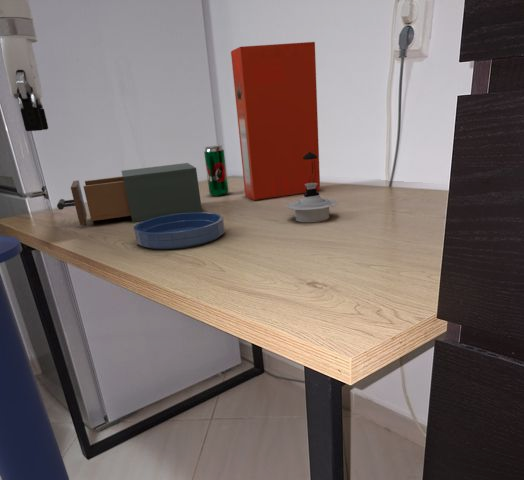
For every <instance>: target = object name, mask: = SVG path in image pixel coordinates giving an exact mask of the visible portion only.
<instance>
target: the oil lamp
mask: <svg viewBox="0 0 524 480" xmlns="http://www.w3.org/2000/svg"><path fill="white" fill-rule="evenodd" d="M316 158H317V156H316V155H315V154H313V153H311V152H310V151H309V153H307V154H306V155H305V156H304V157H303V159H305V160H307V159H316ZM314 165H315V160H314ZM312 174H313V162H312ZM311 177H312V176H311ZM311 177H310V178H311ZM315 177H316V172H315ZM314 179H315V178H314ZM314 179H313V180H314ZM309 182H310V179H309ZM317 184H318V183H307V184H305V186H306V187H307V189H306V191H307V192H306V193H303V197H302V198H301V199H299V200H296V201H292V202H290V203H288V204H286V209H289V210H294V213H295V214H294V215H295V222H296V221H297V222H299V223H316V222H323V221H327V220H328V219H330V207H334V206H337V205H338V204H339V202H338V200H334V199H329V198H323V197H321V195H320V192H319V191H317V188H316V186H317Z"/></svg>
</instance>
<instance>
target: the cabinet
mask: <svg viewBox="0 0 524 480" xmlns="http://www.w3.org/2000/svg"><path fill="white" fill-rule="evenodd" d="M121 176H123V178H124V182H125V187H126V192H127V197H128V202H129V207H130V212H131V216H130V218H131V222H132V223H137V222H143V221H146V220H149V219H152V218H156V217H160V216H166V215H172V214H180V213H192V212H203V209H202V200H201V194H200V193H201V192H200V186H199V179H198V171H197V167H195V166H194V165H192V164H191V163H189V162H184V163H183V162H182V163H175V164H167V165H158V166H157V165H156V166H152V167H141V168H134V169H125V170H121Z"/></svg>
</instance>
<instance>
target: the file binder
mask: <svg viewBox="0 0 524 480" xmlns="http://www.w3.org/2000/svg"><path fill="white" fill-rule="evenodd" d="M230 56H231V57H230V58H231V65H232V77H233V87H234V97H235V106H236V107H235V108H236V117H237V127H238V136H239V145H240V146H239V147H240V156H241V166H242V167H241V168H242V175H243V176H242V177H243V187H244V195H245V198H248V199H250V200H252V201H260V200H266V199H267V200H268V199H272V198H280V197H286V196H293V195H301V194H306V192H307V191H306V189H307V187H306V186H305V184H307V183H318V184H317V186H316V188H317V192H320V191H321V176H320V172H321V171H320V147H319V121H318V120H319V118H318V117H319V116H318V91H317V63H316V41H307V42H292V43H277V44H262V45H261V44H260V45H259V44H258V45H243V46H239V47H237V48H235V49H233V50H231V51H230ZM309 151H310V152H311V153H313V154H315V155H316V156H317V158H316V159H307V160H305V159H303V157H304V156H305V155H306V154H307V153H309ZM314 160H315V165H314ZM312 162H313V174H312ZM315 172H316V177H315ZM311 176H312V177H311ZM310 177H311V178H310ZM314 178H315V179H314ZM309 179H310V182H309ZM313 179H314V180H313Z"/></svg>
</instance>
